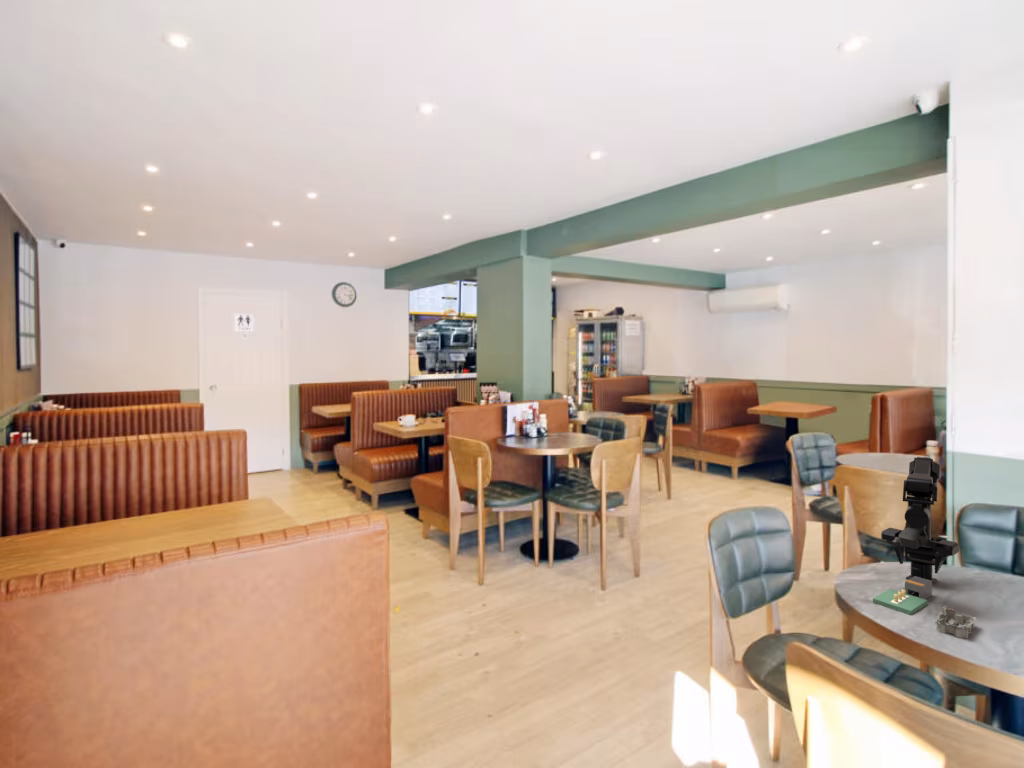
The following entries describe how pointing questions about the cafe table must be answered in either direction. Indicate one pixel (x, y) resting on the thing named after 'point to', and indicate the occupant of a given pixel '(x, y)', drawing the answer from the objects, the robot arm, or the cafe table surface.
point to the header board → (900, 601)
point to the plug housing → (919, 587)
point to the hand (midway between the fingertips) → (918, 568)
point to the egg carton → (954, 622)
